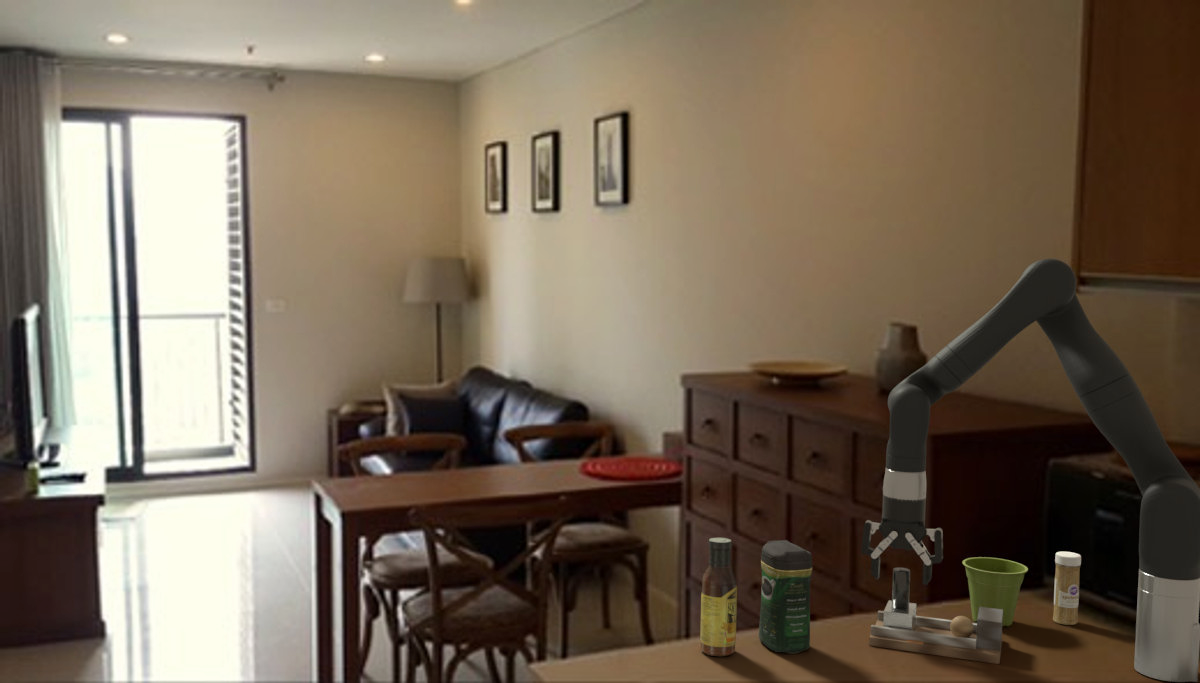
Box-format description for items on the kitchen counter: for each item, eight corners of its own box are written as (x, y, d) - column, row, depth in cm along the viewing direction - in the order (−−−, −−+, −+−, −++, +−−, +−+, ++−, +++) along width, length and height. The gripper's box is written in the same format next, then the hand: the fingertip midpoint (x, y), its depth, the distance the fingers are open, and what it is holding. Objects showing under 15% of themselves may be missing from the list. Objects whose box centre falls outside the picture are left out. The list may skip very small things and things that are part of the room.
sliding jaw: (915, 624, 200) (917, 566, 199) (911, 636, 194) (913, 576, 193) (888, 621, 202) (890, 563, 201) (883, 632, 196) (885, 573, 195)
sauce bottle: (734, 659, 185) (737, 546, 184) (697, 656, 187) (700, 543, 185) (737, 646, 192) (739, 536, 190) (702, 643, 193) (704, 534, 192)
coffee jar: (816, 653, 189) (820, 549, 188) (775, 657, 187) (778, 551, 186) (792, 634, 199) (795, 535, 197) (752, 638, 196) (755, 538, 195)
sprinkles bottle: (1067, 627, 205) (1070, 557, 205) (1047, 620, 209) (1050, 552, 209) (1083, 623, 208) (1086, 555, 207) (1063, 616, 212) (1066, 549, 211)
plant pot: (1035, 633, 202) (1037, 574, 201) (971, 631, 202) (973, 572, 201) (1012, 613, 214) (1015, 557, 213) (952, 611, 214) (954, 555, 213)
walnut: (973, 636, 195) (974, 614, 195) (972, 643, 191) (973, 621, 191) (950, 633, 196) (951, 611, 196) (948, 640, 193) (949, 618, 192)
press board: (1001, 640, 197) (1003, 605, 197) (999, 664, 185) (1001, 627, 185) (879, 623, 206) (880, 590, 205) (869, 645, 194) (870, 609, 193)
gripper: (947, 493, 197) (942, 580, 198) (867, 486, 202) (864, 570, 204) (943, 501, 190) (939, 591, 191) (861, 493, 195) (857, 581, 197)
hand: (900, 580), depth 197 cm, fingers open, 8 cm apart
